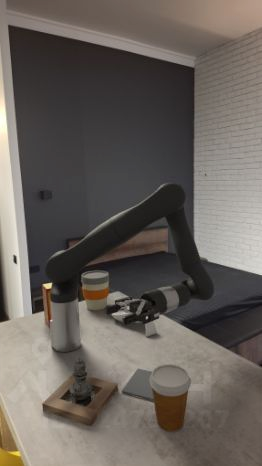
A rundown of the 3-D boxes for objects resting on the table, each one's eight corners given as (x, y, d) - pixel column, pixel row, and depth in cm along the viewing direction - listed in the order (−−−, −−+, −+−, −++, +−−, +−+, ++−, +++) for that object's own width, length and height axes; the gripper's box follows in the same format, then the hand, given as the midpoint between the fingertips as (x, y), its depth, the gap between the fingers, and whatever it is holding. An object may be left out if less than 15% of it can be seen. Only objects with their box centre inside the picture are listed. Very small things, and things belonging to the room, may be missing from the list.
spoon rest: (105, 318, 133) (105, 301, 132) (129, 311, 140) (128, 295, 139) (139, 340, 114) (139, 321, 113) (164, 331, 121) (164, 313, 119)
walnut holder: (42, 410, 80) (42, 403, 80) (74, 378, 93) (74, 372, 93) (91, 426, 75) (90, 418, 74) (117, 390, 87) (117, 383, 87)
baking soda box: (48, 327, 126) (45, 288, 124) (44, 321, 132) (41, 283, 129) (72, 321, 131) (69, 283, 128) (67, 315, 136) (64, 279, 134)
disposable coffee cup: (147, 409, 80) (146, 364, 78) (185, 405, 81) (185, 361, 79) (153, 439, 71) (152, 390, 69) (196, 435, 71) (196, 386, 69)
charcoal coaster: (121, 392, 86) (121, 390, 86) (137, 370, 96) (137, 368, 96) (160, 403, 82) (160, 401, 82) (173, 378, 92) (173, 376, 92)
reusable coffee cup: (99, 314, 137) (97, 280, 135) (76, 308, 144) (74, 276, 141) (116, 304, 148) (114, 272, 145) (94, 299, 154) (92, 269, 152)
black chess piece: (88, 409, 80) (86, 365, 78) (66, 406, 82) (63, 363, 80) (96, 393, 86) (93, 352, 84) (75, 391, 87) (72, 350, 85)
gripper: (144, 283, 101) (100, 295, 92) (176, 295, 90) (129, 311, 81) (145, 306, 102) (101, 320, 93) (176, 321, 91) (130, 339, 82)
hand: (114, 316), depth 87 cm, fingers open, 8 cm apart
